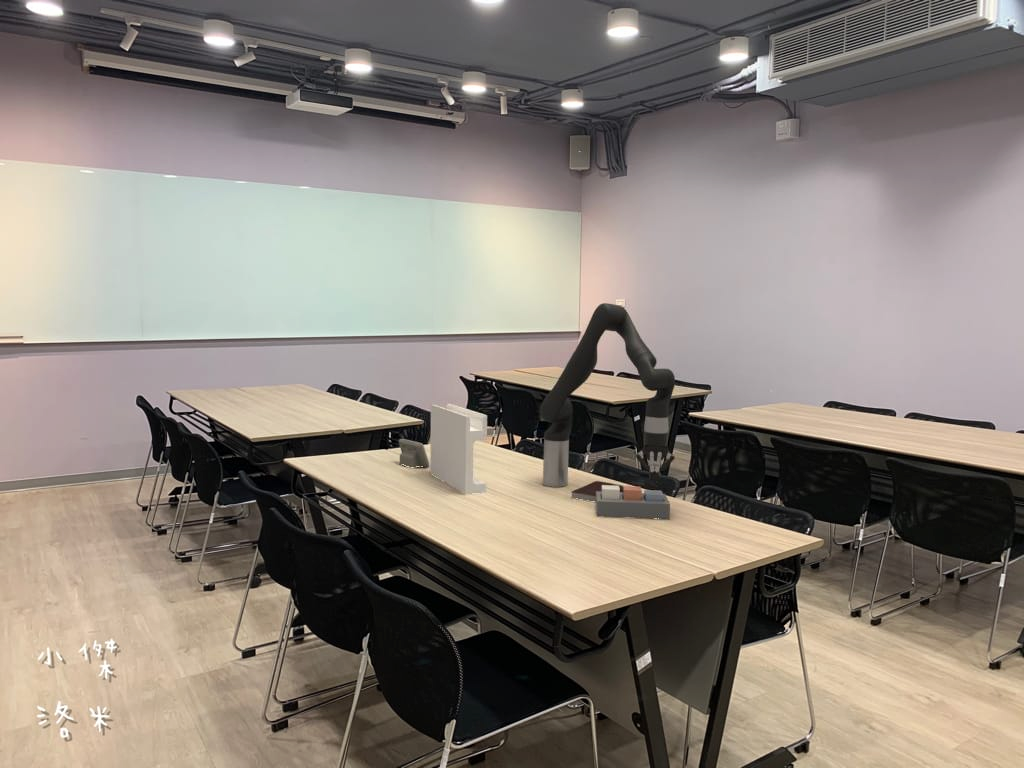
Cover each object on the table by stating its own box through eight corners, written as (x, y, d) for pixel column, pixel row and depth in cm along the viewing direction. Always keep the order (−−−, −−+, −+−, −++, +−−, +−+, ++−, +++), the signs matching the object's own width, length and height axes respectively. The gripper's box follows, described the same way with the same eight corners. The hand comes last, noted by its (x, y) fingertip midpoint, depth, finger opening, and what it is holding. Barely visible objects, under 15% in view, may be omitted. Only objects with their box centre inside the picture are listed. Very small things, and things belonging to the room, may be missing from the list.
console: (596, 516, 235) (597, 501, 234) (595, 505, 248) (596, 491, 247) (669, 519, 233) (670, 504, 232) (664, 508, 246) (665, 494, 245)
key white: (601, 502, 238) (602, 489, 238) (601, 498, 244) (601, 485, 243) (619, 503, 238) (619, 489, 237) (618, 498, 243) (618, 485, 243)
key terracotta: (623, 503, 237) (624, 490, 237) (622, 498, 243) (623, 485, 243) (641, 504, 237) (641, 490, 236) (639, 499, 242) (640, 486, 242)
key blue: (645, 507, 237) (645, 494, 236) (643, 503, 242) (644, 490, 242) (663, 508, 236) (663, 494, 236) (661, 503, 242) (661, 490, 242)
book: (626, 494, 267) (626, 485, 266) (602, 505, 251) (602, 495, 250) (595, 489, 274) (595, 480, 273) (570, 499, 258) (570, 490, 257)
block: (430, 474, 290) (430, 404, 288) (449, 472, 294) (449, 403, 291) (465, 495, 259) (466, 416, 256) (486, 492, 263) (487, 415, 260)
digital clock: (431, 468, 302) (431, 442, 301) (410, 470, 297) (410, 444, 296) (414, 461, 315) (414, 436, 314) (395, 463, 311) (395, 438, 310)
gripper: (675, 429, 240) (672, 481, 242) (634, 427, 241) (632, 479, 243) (678, 433, 233) (675, 486, 234) (636, 431, 234) (633, 484, 236)
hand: (653, 482), depth 239 cm, fingers closed
